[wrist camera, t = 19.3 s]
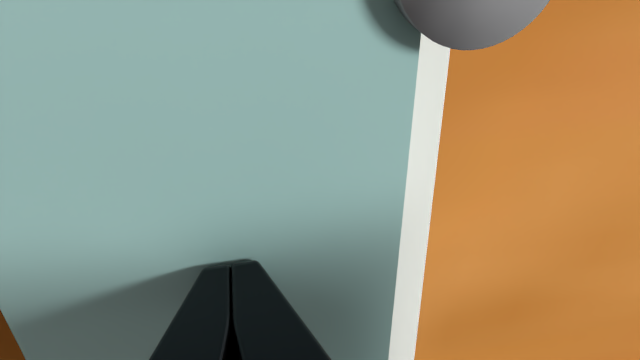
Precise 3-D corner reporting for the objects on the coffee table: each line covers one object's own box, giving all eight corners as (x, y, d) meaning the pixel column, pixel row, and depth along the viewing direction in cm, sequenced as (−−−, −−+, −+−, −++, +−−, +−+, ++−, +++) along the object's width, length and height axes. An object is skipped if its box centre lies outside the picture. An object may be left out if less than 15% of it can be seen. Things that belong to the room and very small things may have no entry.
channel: (364, 397, 19) (396, 509, 16) (165, 435, 18) (154, 563, 15) (382, -144, 10) (473, -149, 6) (-35, -131, 9) (-191, -129, 5)
